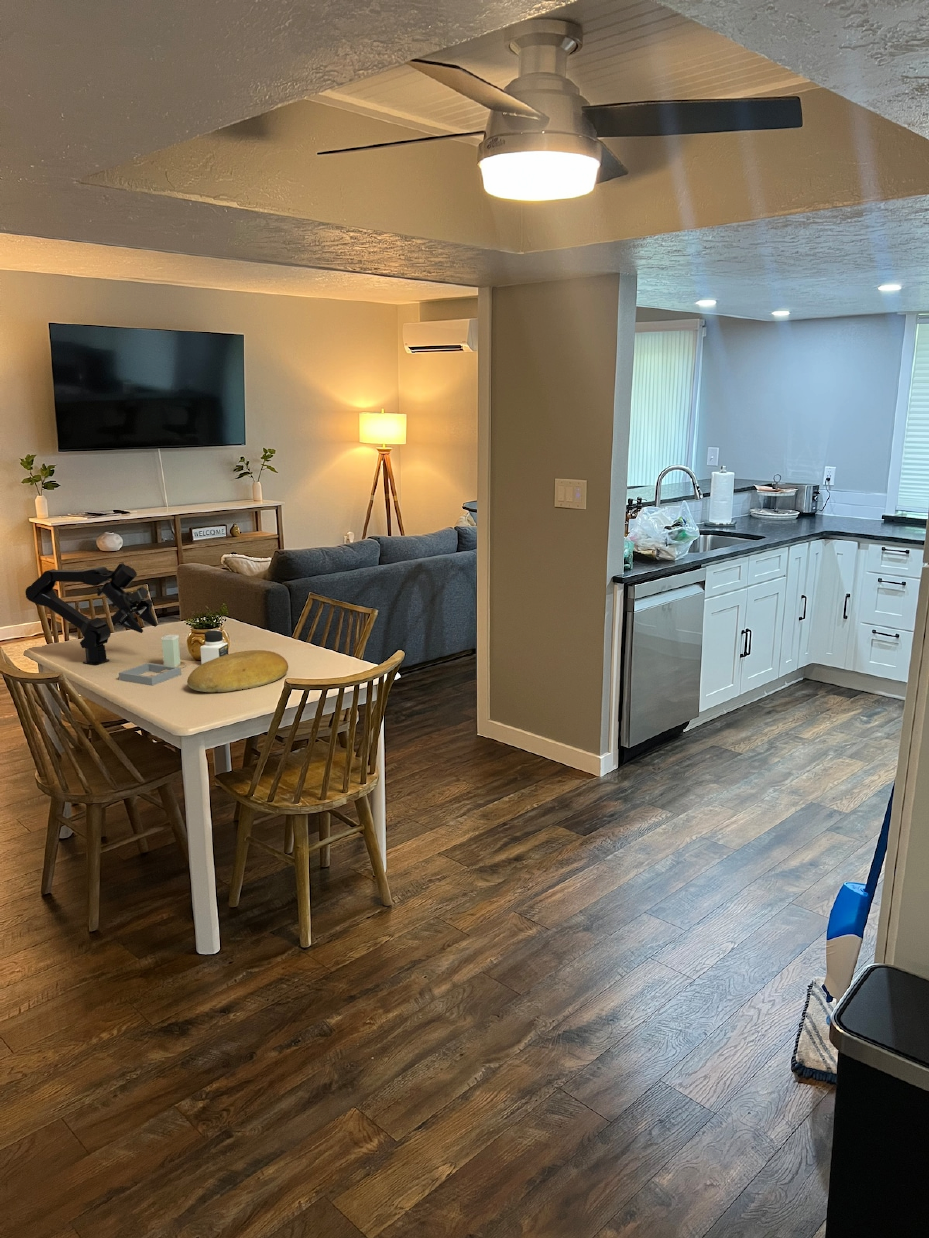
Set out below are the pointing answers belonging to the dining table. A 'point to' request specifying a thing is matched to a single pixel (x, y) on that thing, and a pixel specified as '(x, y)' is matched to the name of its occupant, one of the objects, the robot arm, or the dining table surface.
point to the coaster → (178, 665)
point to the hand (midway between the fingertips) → (149, 628)
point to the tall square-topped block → (171, 650)
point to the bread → (238, 671)
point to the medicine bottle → (213, 646)
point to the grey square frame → (134, 676)
